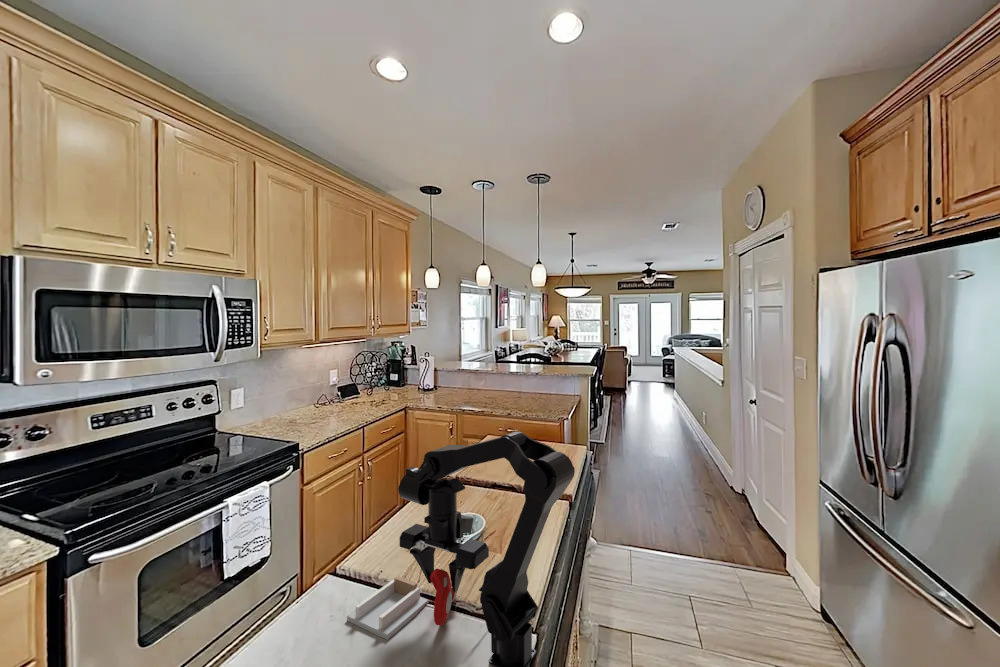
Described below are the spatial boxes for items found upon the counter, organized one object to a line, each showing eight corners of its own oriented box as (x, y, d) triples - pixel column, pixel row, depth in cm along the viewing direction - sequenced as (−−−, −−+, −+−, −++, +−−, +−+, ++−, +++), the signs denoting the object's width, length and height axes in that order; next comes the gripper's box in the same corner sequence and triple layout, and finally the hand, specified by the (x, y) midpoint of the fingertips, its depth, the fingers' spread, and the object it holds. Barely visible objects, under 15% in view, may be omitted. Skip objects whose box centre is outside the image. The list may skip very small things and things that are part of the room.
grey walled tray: (428, 604, 91) (428, 585, 91) (387, 639, 80) (387, 618, 80) (389, 589, 96) (389, 571, 96) (346, 620, 86) (346, 600, 86)
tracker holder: (443, 639, 81) (443, 586, 81) (421, 635, 82) (421, 583, 81) (462, 599, 93) (462, 553, 92) (442, 597, 93) (442, 551, 93)
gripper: (502, 504, 89) (502, 579, 89) (431, 489, 99) (431, 556, 99) (472, 525, 80) (473, 609, 80) (397, 506, 89) (397, 581, 89)
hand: (443, 586), depth 87 cm, fingers open, 6 cm apart
